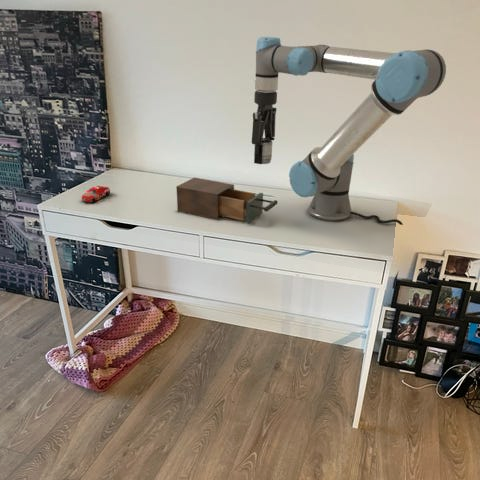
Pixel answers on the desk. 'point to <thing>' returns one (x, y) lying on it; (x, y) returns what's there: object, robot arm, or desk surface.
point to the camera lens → (266, 150)
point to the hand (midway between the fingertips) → (262, 161)
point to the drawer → (243, 205)
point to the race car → (95, 194)
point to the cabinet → (201, 197)
